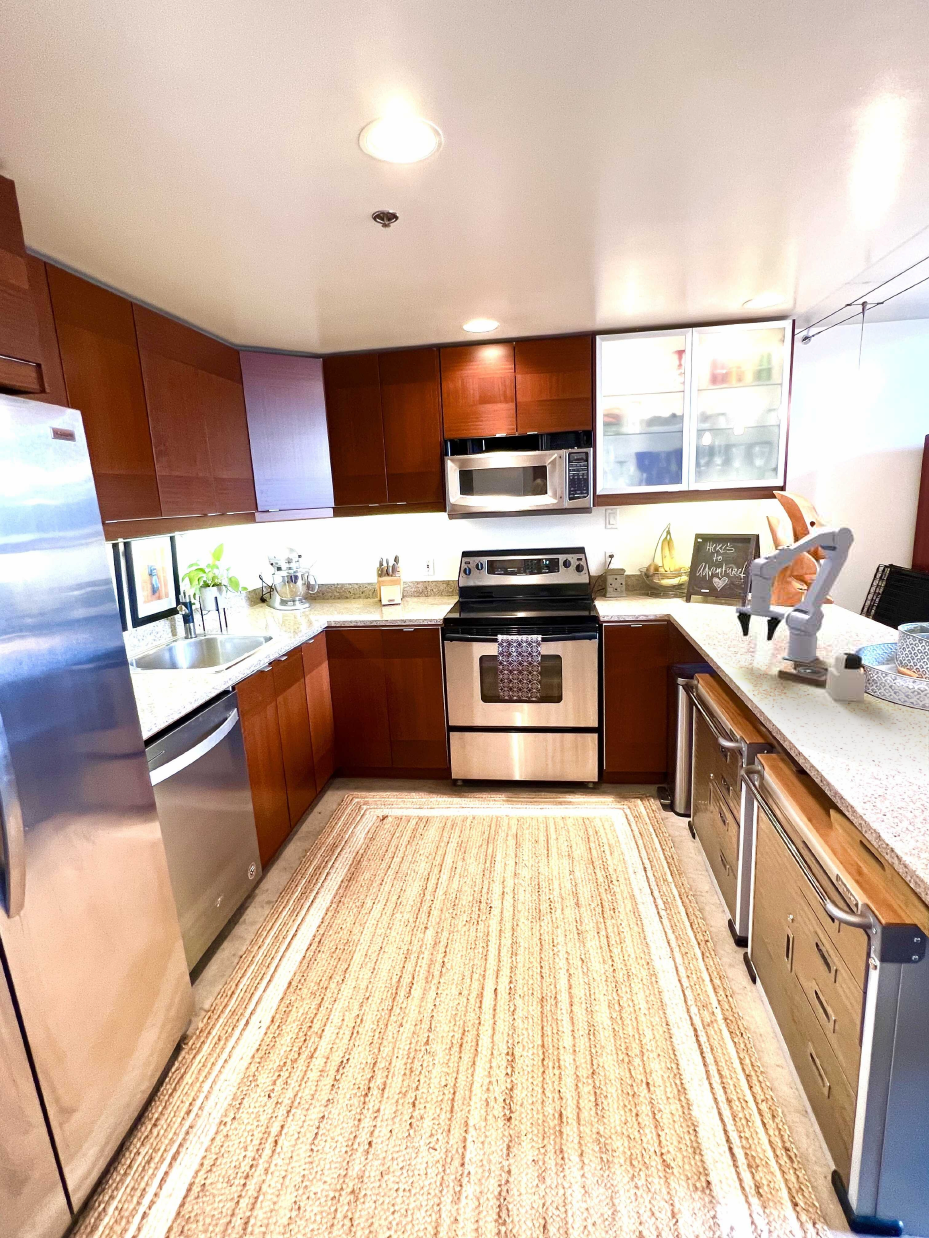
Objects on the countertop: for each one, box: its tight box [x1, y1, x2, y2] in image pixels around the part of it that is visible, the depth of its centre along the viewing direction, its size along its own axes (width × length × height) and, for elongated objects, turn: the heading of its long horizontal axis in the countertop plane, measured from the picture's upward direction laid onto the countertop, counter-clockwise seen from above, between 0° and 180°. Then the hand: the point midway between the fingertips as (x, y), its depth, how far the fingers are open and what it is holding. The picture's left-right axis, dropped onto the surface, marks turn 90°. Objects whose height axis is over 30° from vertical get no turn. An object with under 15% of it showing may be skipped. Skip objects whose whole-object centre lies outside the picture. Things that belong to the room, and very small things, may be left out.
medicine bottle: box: [825, 652, 867, 702], centre depth 157 cm, size 7×7×12 cm
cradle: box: [777, 661, 829, 688], centre depth 174 cm, size 12×12×2 cm
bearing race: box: [795, 667, 828, 678], centre depth 174 cm, size 8×8×2 cm
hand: (757, 637), depth 187 cm, fingers open, 7 cm apart
